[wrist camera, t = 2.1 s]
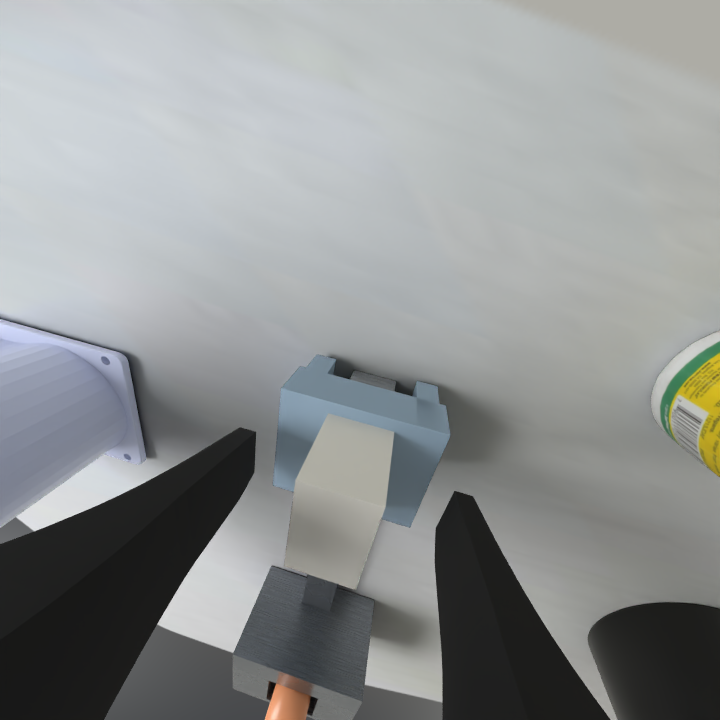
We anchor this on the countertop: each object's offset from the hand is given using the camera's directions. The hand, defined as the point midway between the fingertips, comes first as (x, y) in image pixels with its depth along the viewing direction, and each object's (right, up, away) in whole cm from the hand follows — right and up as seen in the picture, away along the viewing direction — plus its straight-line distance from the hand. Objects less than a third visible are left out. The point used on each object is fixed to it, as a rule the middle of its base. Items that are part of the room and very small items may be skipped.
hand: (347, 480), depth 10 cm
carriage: (+1, +2, +4) cm, 4 cm away
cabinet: (-3, -15, +12) cm, 19 cm away
